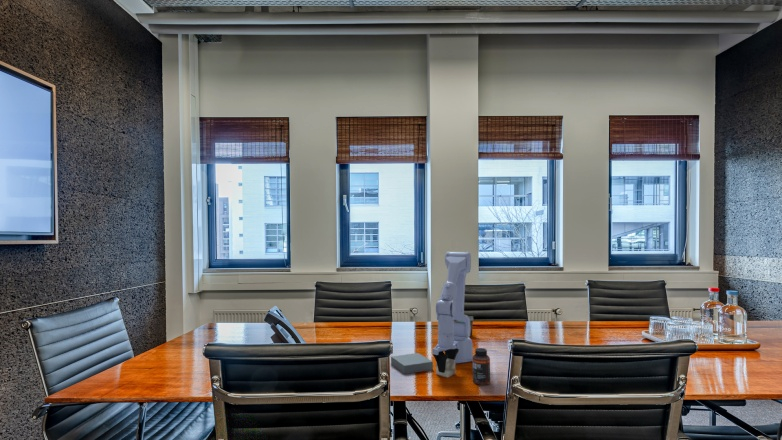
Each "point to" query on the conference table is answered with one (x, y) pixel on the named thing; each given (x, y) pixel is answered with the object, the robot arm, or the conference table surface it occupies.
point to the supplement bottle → (481, 367)
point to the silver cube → (447, 368)
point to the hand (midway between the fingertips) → (445, 370)
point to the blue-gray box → (411, 363)
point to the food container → (470, 323)
